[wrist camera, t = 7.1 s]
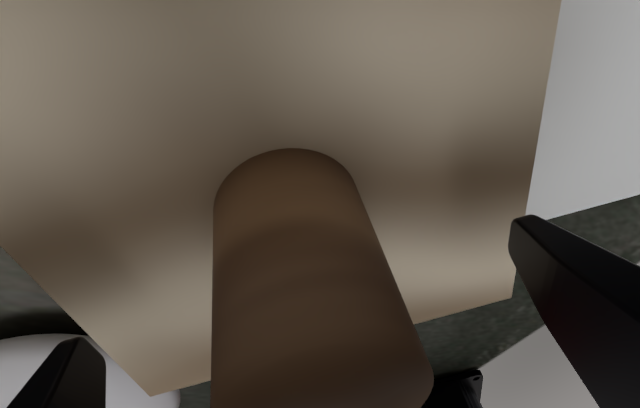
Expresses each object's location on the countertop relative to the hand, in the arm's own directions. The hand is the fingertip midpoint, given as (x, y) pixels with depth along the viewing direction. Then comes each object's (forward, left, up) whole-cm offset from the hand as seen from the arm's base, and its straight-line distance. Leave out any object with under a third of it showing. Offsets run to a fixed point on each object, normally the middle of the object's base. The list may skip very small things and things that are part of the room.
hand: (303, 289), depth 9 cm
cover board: (0, 0, -4) cm, 4 cm away
